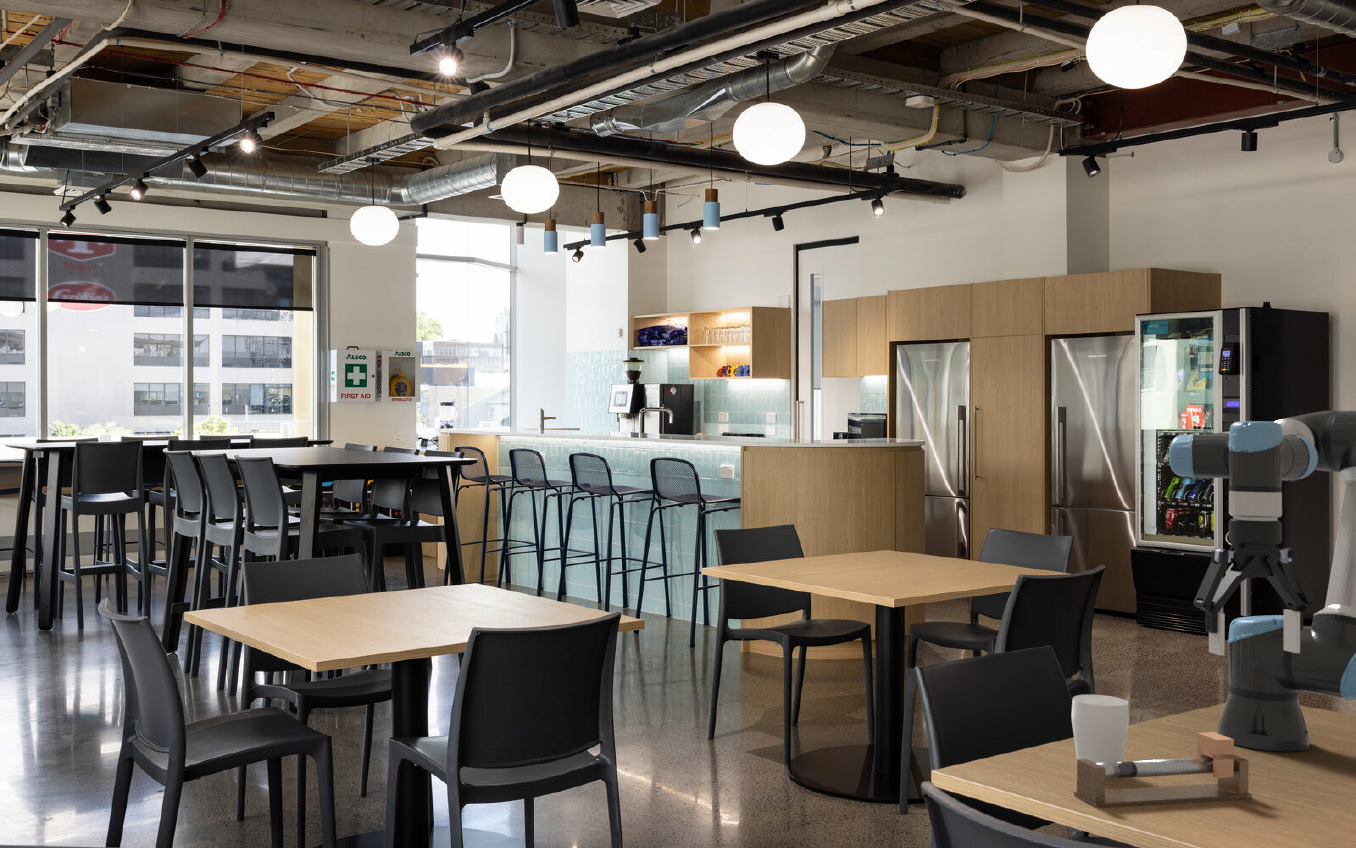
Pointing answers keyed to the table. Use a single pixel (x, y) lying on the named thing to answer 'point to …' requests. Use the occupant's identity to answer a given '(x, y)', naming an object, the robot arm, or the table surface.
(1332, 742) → the table surface
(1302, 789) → the table surface
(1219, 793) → the wooden rod stand
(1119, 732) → the cup
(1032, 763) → the table surface
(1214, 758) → the tan block
